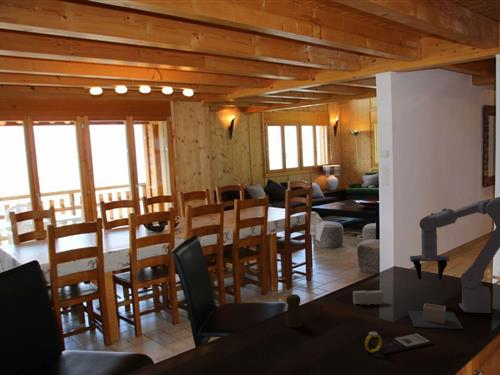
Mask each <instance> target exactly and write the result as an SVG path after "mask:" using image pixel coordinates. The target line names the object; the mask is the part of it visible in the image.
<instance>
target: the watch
mask: <svg viewBox="0 0 500 375" xmlns="http://www.w3.org/2000/svg"><path fill="white" fill-rule="evenodd" d="M372 338H378V339H379V342H378V346H377V347H376V348H373V349H370V348H369V343H368V342H369V341H371V339H372ZM378 339H377V340H378ZM382 339H383V338H382V337H381V335H380V334H378V332H377V331H369V332H368V335H367V336H366V337H365V340H364V348H365V350H366V351H368V352H369V353H370V354H372V353H375V352H380V351H379V349H380V348H381V346H382Z"/></svg>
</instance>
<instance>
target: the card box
mask: <svg viewBox="0 0 500 375" xmlns="http://www.w3.org/2000/svg"><path fill="white" fill-rule="evenodd" d="M422 311H423V320H424V321H430V322H436V323H442V324H444V323H445V321H446V312H447V307H446V305H439V304H433V303H424V305H423V307H422Z"/></svg>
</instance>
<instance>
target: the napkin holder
mask: <svg viewBox="0 0 500 375" xmlns="http://www.w3.org/2000/svg"><path fill="white" fill-rule="evenodd" d="M352 302H353V305H355V304H360V305H366V304H367V305H366V306H370V304H374V305H383V304H385V303H384V291H383V290H382V289H381V290H380V289H378V290H353V291H352Z"/></svg>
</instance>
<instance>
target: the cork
mask: <svg viewBox="0 0 500 375" xmlns="http://www.w3.org/2000/svg"><path fill="white" fill-rule="evenodd" d="M285 300H286V304H287V310H286V323H285V325H286V326H287V327H288V328H292V329H293V328H296V329H297V328H301V327H302V326H303V325H304V324H303V319H302V318H303V317H302V313H301V308H300V304H301V301H302V300H301V297H300V295H298V294H295V293H293V294H292V293H291V294H289V295H287V296H286V299H285Z"/></svg>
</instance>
